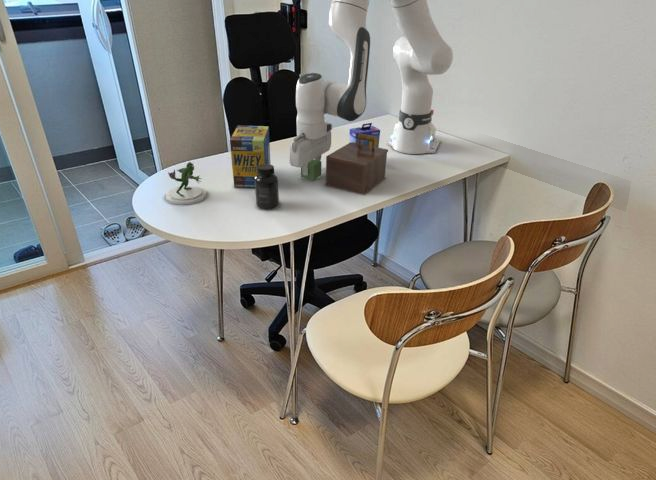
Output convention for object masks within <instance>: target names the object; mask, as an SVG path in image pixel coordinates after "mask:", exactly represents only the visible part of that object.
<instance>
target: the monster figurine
mask: <svg viewBox="0 0 656 480" xmlns="http://www.w3.org/2000/svg"><path fill="white" fill-rule="evenodd" d="M194 170H195V165H194V163H193V162H190V161H188V162H187V163H186V166H185V167H182V168H179V169H173V171H172V172H169V171H168V172H167V173H168V177H169V178H170V179H171V180H175V181H176V182H180V183H181V184H180V185H179V186H178V187H174V188H172V189H170V190H168V191H167V192H166V193H165V200H166V202H168V203H170V204H172V205H179V206H181V205H182V206H185V205H192V204H196V203H199V202H202V201H203V200H204V199H206V198H207V191H206V190H205V188H203V187H200V186H194V185H189V182H190V181H189V180H195V181H196V183H202V181H201V180H202V178H200V177H201V175H199V174H198V175H197V176H194V175H193V174H194ZM176 171H177V172H179V173H180V174H181V175H180V178H179V177H177V176H176Z"/></svg>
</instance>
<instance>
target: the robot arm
mask: <svg viewBox="0 0 656 480" xmlns="http://www.w3.org/2000/svg"><path fill="white" fill-rule="evenodd" d="M389 1H390V5H391V9H392V13H393V16H394V20H395V23H396V27H397V29H398V31H399V32H400V33H401V34H402V36H400V37H399V38H398V39H397V40H396V41H395V43H394V45H393V48H392V56H393V59H394V61H395V62H396V64H397V67H398V70H399V74H400V79H401V103H400V109H399V111H398V121H397V122H396V123H395V124H394V126H393V127H394V128H393V134H392V135H390V139H392V140H390V141H388V145H389V146H390V147H392V149H394V150H395V151H396V152H399V153H402V154H406V155H407V154H408V155H423V154H434V153H436V151H437V149H438V147H439V146H440V143H441V139H440V138H438V137H436V129H437V128H436V127H435V125H434V123H433V122H432V120H433V119H432V118H433V115H434V114H435V113H434V112H435V111H434V109H432V105H433V98H434V97H433V96H434V89H433V85H431V83H430V81H429V77H428V75H429V76H438V75H443V74H445V73H446V72H447V71H449V69H450V68H451V67H452V64H453V59H454V53H453V49H452V47H451V46H450V45H449V44H448V43H447V42H446V41H445V40H444V38H443V37H442V35H441V33H440V32H439V30H438V28H437V26H436V24H435V23H434V20H433V18H432V15H431V12H430V9H429V5H428V0H389ZM369 4H370V0H331V3H330V8H329V13H328V25H329V28H330V30H331V33H333V35H334V36H335V37H336V38H337V39H338V40H340V41H341V42H342V43H343V44H345V46H346V47H347V48H348V50H349V52H350V64H349V73H348V74H349V75H348V82H347V83H346V84H343V83H340V82H339V83H338V82H335V81H331V80H328V79H325V78H324V77H323V75H321V73H317V72H310V73H304V74H303V75H301V76H300V77H298V79H297V82H296V87H295V107H296V111H297V114H296V119H295V120H296V123H295V124H296V136H295V137H294V138H293V140H292V142H291V143H290V147H289V165H290V166H291V167H294V168H300V169H301V168H302V172H303V175H306V176H307V175H308V174H309V169H308V168H307V166H308V162H310V161H312V160H313V159H314V160H318V161H322V155H324V154H325V153H327V152H329V151H330V150H331V147H332V130H333V123H331V122H327V121H325V119H326V117H325V115H326V114H327V115H330V116H333V117H338V118H340V119H342V120H344V121H347V122H354V121H356V120H357V119H359V118H360V117H361V116H362V115H363V114H364V113H365V111H366V108H367V82H368V72H369V63H370V54H371V34H370V31H368V30H367V29H368V28H367V15H368V10H369Z"/></svg>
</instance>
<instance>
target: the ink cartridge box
mask: <svg viewBox="0 0 656 480" xmlns="http://www.w3.org/2000/svg"><path fill="white" fill-rule="evenodd" d="M372 124H373V122H368V123H362V125H361V127H360V126H359V127H353V128H349V135H348V137H349V138H348V144H349V143H350V142H353V143H358V141H359V139H358V134H359V133H361V134H366V135H371V136H376V141H375V147H378V148H380V137H381V129H380V128H378V127H376V126H374V125H372ZM361 144H363V145H368V146H372V141H367V140H362V139H361Z"/></svg>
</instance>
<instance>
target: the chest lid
mask: <svg viewBox="0 0 656 480" xmlns="http://www.w3.org/2000/svg"><path fill="white" fill-rule="evenodd" d="M358 139H359V141H358V143H353V142H350V143H349V142H348V143H347V144H345V145H343V146H342V147H340V148H339V149H337V150H334V151H333V152H331V153H330V154H328V155H326V156H325V160H326V159H330V160H334V161H339V162H343V163H348V164H352V165H357V166H362V167H367V166H368V165H370V164H371V163H372V162H374V161H375V160H377V159H378V158H380V157H381V156H383V155H384V154H386V153H387V154H388V152H389V149H387V148H382V147H379V148H378V147H375V141H376V136H371V135H366V134H361V133H359V134H358ZM361 139H362V140H367V141H372V146H368V145H363V144H361Z"/></svg>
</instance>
